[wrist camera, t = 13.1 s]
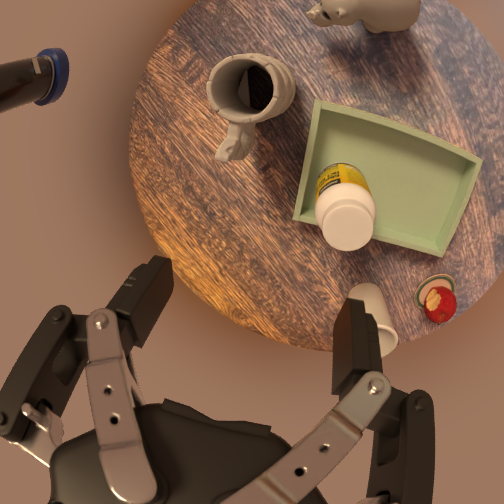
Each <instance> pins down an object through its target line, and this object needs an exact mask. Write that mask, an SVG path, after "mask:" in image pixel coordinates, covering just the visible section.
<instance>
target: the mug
mask: <svg viewBox="0 0 504 504" xmlns="http://www.w3.org/2000/svg"><path fill="white" fill-rule="evenodd" d="M255 65H256V66H258V67H259V68H261V69H263V70H264V71H266V72H267V73H269V74H270V76H271V78H272V81H273V85H274V92H273V97H272V99H271V101H270V103H269V105H268V106H267V107H266V108H265V109H264V110H263V111H261V110H256V109H253V108H251V107H250V98H249V87H248V76H247V69H249V68H250V67H252V66H255ZM243 73H244V74H243ZM242 75H243V77H242V80H241V83H240V86H239V81H240V79H241V76H242ZM209 80H210V81H208V82H207V96H208V100H209V102H210V104H211V106H212V108H213V109H214V110H215V111H216V112H218V114H219V115H220V116H221V117H223V118H225V119H226V120H229V126H228V131H227V136H226V139H225V140H224V141H223V142H222V144H221V145H220V146H219V148H218V149H217V152H216V155H215V160H217V161H221V162H228V161H229V159H231V160H243V159H244V158H245V157H246V156H247V155H248V153H249V152H250V150H251V149H252V147H253V143H254V138H255V126H256V123H257V122H261V121H265V120H267V119H269V118H273V117H276V116H278V115H280V114H282V113H284V112H285V111H286V109H287V108H288V107H289V106H290V105H291V103H292V101H293V99H294V96H295V91H296V85H295V84H296V81H295V79H294V77H293V75H292V73H291V71H290V70H289V68H288V67H287V66H286V65H285V64H283V63H282V62H281V61H279V60H277V59H274V58H273V57H270V56H268V57H267V56H265V55H264V54H260V53H257V54H256V53H254V54H252V53H249V54H238V55H234V56H230V57H227V58H225V59H224V60H222V61H221V62H219V63H218V64H217V65H216V66H215V67H214V69H213V70H212V71H211V73H210V77H209Z"/></svg>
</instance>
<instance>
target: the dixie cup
mask: <svg viewBox="0 0 504 504" xmlns="http://www.w3.org/2000/svg"><path fill="white" fill-rule="evenodd" d="M348 298H353V299H358V300H363V301H364V303H365V311H366V313H370V314H372V315H373V317H374V319H375V320H376V322H377V326H378V335H379V343H380V350H381V358H382V357H384V356H386V355H387V354H389V353H390V352H391V351H392V350H393V349H394V348H395V347H396V345H397V343H398V335H397V333H396V332H395V330H394V328H393V325H392V322H391V318H390V315H389V312H388V310H387V307H386V304H385V301H384V298H383V295H382V293H381V290H380V288H379V287H378V286H377V285H375V284H373V283H361V284H358V285H356V286H354V287H353V288H352V289H351V290H350V292H349V294H348Z"/></svg>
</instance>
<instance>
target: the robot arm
mask: <svg viewBox="0 0 504 504" xmlns="http://www.w3.org/2000/svg"><path fill="white" fill-rule="evenodd" d="M55 75H56V69H55V63H54V61H53V59H52V57H50V56H49V55H42V56H39V57H33V58H27V59H22V60H18V61H14V62H9V63H5V64H1V65H0V114H1V113H3V112H6V111H9V110H11V109H14V108H17V107H20V106H22V105H25V104H28V103H32V102H35V101H38V100H43V99H45V98H46V97H47V96H48V95H49V94H50V92H51V90H52V88H53V85H54V82H55ZM173 287H174V281H173V271H172V261H171V259H169V258H165V257H161V256H157V255H155V256H153V257H152V259H151V260H150V261H149V263H148V264H141V265H140V266H138V267H137V268H135V269H134V270H133V271H132V273H131V274H130V275H129V276H128V279H126V280H125V282H124V283H123V285H122V286H121V287H120V289H119V290H118V291H117V293H116V294H115V295H114V297H113V298H112V300H111V301H110V302H109V304H108V305H107V306H106V307H105V308H100V309H97V310H95V311H93V312H92V313H91V314H90V315H75V314H72V312H71V310H70V308H69V307H67V306H65V305H58V306H55V307H53V308H52V309H51V310H50V311H49V312H48V313H47V314H46V316H45V317H44V319H43V320H42V322H41V323H40V325H39V326H38V328H37V329H36V331H35V332H34V334H33V335H32V337H31V338H30V340H29V342H28V343H27V345H26V346H25V348H24V350H23V351H22V353H21V354H20V356H19V358H18V360H17V362H16V363H15V365H14V367H13V368H12V370H11V372H10V374H9V375H8V377H7V379H6V381H5V383H4V385H3V387H2V389H1V391H0V436H1V437H3V438H5V439H6V440H7V441H8V442H10V443H12V444H14V445H15V446H17V447H19V448H21V449H23V450H25V451H26V452H27V453H28V454H30V455H31V456H32V457H34V458H35V459H37V460H38V461H39V462H41V463H42V464H44V465H45V466H47V467H48V468H49V471H50V478H51V496H50V500H49V502H48V504H328V503H327V502H326V500H325V499H324V497H323V496H322V494H321V492H320V491H319V489H318V488H317V485H318V484H319V483H320V482H321V481H322V480H323V479H324V478H325V477H326V476H327V475H328V474H329V473H330V472H331V471H332V470H333V469H334V468H335V467H336V466H337V465H338V464H339V463H340V461H341V460H342V459H343V458H344V457H345V456H346V455H347V454H348V453H349V452H350V451H351V449H352V448H353V447H354V446H355V445H356V444H357V442H358V441H359V440H360V438H361V437H362V435H363V434H362V432H363V431H364V429H365V428H367V429H370V430H373V431H374V438H373V449H372V459H371V467H370V476H369V482H368V489H367V494H366V498H365V499H363V500H361V501H359V502H358V503H357V504H432V496H433V485H434V470H435V425H434V424H435V423H434V406H433V401H432V398H431V396H430V395H429V394H428V393H426V392H425V391H423V390H414V391H413V392H411V393H410V394H408V393H405V392H403V391H400V390H398V389H395V388H393V387H392V386H391V384H390V381H389V380H388V378H387V377H386V376H385V375H384V374H383V370H382V359H381V350H380V343H379V335H378V326H377V322H376V320H375V319H374V317H373V315H372V314H370V313H366V311H365V303H364V301H363V300H358V299H353V298H347V299H346V300H345V302H344V304H343V306H342V308H341V310H340V312H339V314H338V316H337V318H336V321H335V324H334V329H333V370H332V395H339V402H338V403H337V404H336V405H335V406H334V407H333V409H332V410H331V411H330V412H329V413H328V414H327V415H326V416H325V417H324V418H323V419H322V420H321V421H320V422H319V423H318V424H317V425H316V426H315V427H313V428H312V429H311V430H310V431H309V432H308V433H307V434H306V435H305V436H304V437H303V438H301V439H300V440H299V441H298V442H297V443H296V444H295V445H294V446H293V447H291V446H290V445H289V444H288V443H287V442H286V441H285V440H284V439H283V438H281V437H280V436H278V435H276V434H274V433H272V432H270V430H271V426H268V425H262V424H257V423H252V422H247V421H216V420H213V419H211V418H209V417H207V416H205V415H204V414H202V413H200V412H198V411H197V410H195V409H193V408H191V407H190V406H186V405H184V404H180V403H177V402H174V401H171V400H168V399H164V402H163V404H160V403H155V404H154V403H153V404H146V403H145V400H144V398H143V395H142V392H141V390H140V387H139V383H138V379H137V375H136V371H135V368H134V363H133V359H132V354H131V350H132V348H133V346H137V347H140V348H142V347H143V345H144V343H145V341H146V340H147V338H148V336H149V334H150V332H151V330H152V328H153V327H154V325H155V323H156V321H157V319H158V318H159V316H160V314H161V312H162V310H163V309H164V307H165V305H166V303H167V301H168V300H169V298H170V296H171V294H172V292H173ZM59 352H60V353H59ZM58 354H59V355H58ZM55 359H56V360H55ZM88 360H89V363H87V362H88ZM54 361H55V362H54ZM84 367H85V371H86V379H87V387H88V393H89V400H90V405H91V411H92V416H93V421H94V426H95V429H93V430H91V431H88V432H86V433H84V434H82V435H80V436H78V437H76V438H73V439H71V440H69V441H66V442H64V443H62V436H63V435H64V430H63V423H62V421H61V419H60V418H61V416H62V413H63V411H64V409H65V407H66V405H67V402H68V400H69V398H70V396H71V394H72V392H73V390H74V388H75V385H76V383H77V381H78V379H79V377H80V375H81V373H82V371H83V369H84Z"/></svg>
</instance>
